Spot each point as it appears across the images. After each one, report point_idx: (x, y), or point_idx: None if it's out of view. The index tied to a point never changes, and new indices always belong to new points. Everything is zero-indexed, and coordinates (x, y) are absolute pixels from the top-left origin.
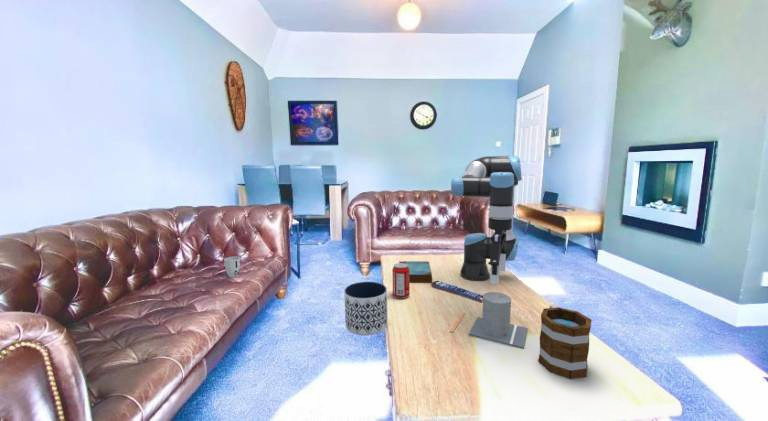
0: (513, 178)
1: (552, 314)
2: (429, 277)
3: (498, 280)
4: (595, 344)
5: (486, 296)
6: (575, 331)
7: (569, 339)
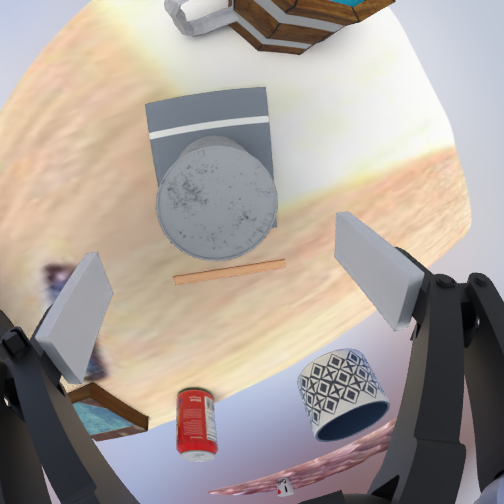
0: None
1: None
2: (94, 395)
3: (360, 221)
4: None
5: (226, 246)
6: None
7: None
